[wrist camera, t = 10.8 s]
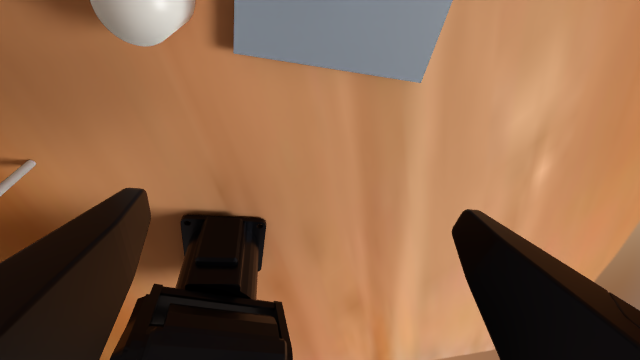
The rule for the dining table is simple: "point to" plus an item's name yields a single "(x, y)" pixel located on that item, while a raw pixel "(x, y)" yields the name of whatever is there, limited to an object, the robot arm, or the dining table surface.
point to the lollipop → (16, 176)
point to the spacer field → (143, 18)
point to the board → (343, 33)
